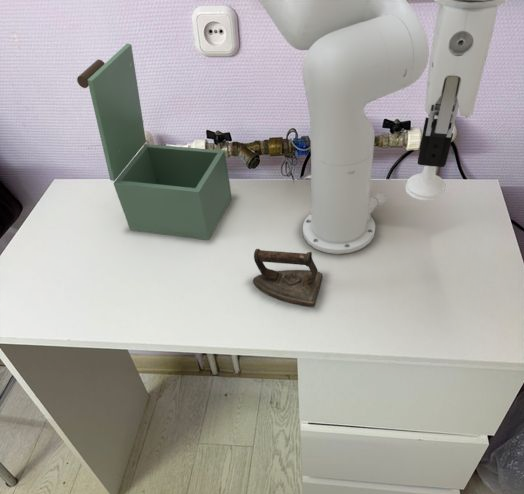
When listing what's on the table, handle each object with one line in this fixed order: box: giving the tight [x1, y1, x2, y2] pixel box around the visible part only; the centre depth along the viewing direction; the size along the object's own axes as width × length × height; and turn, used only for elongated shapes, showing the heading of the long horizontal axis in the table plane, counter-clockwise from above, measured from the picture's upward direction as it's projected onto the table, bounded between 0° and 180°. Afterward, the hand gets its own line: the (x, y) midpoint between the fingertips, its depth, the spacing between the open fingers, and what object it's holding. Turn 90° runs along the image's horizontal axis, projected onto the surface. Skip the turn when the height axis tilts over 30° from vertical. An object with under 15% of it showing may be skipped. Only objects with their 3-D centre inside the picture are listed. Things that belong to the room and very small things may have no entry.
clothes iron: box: [252, 248, 323, 308], centre depth 77 cm, size 7×11×10 cm, turn 75°
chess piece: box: [404, 115, 447, 202], centre depth 59 cm, size 5×5×10 cm
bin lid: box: [76, 43, 147, 182], centre depth 82 cm, size 17×13×5 cm
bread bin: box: [113, 143, 233, 241], centre depth 91 cm, size 16×13×10 cm
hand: (432, 156), depth 60 cm, fingers closed on chess piece
